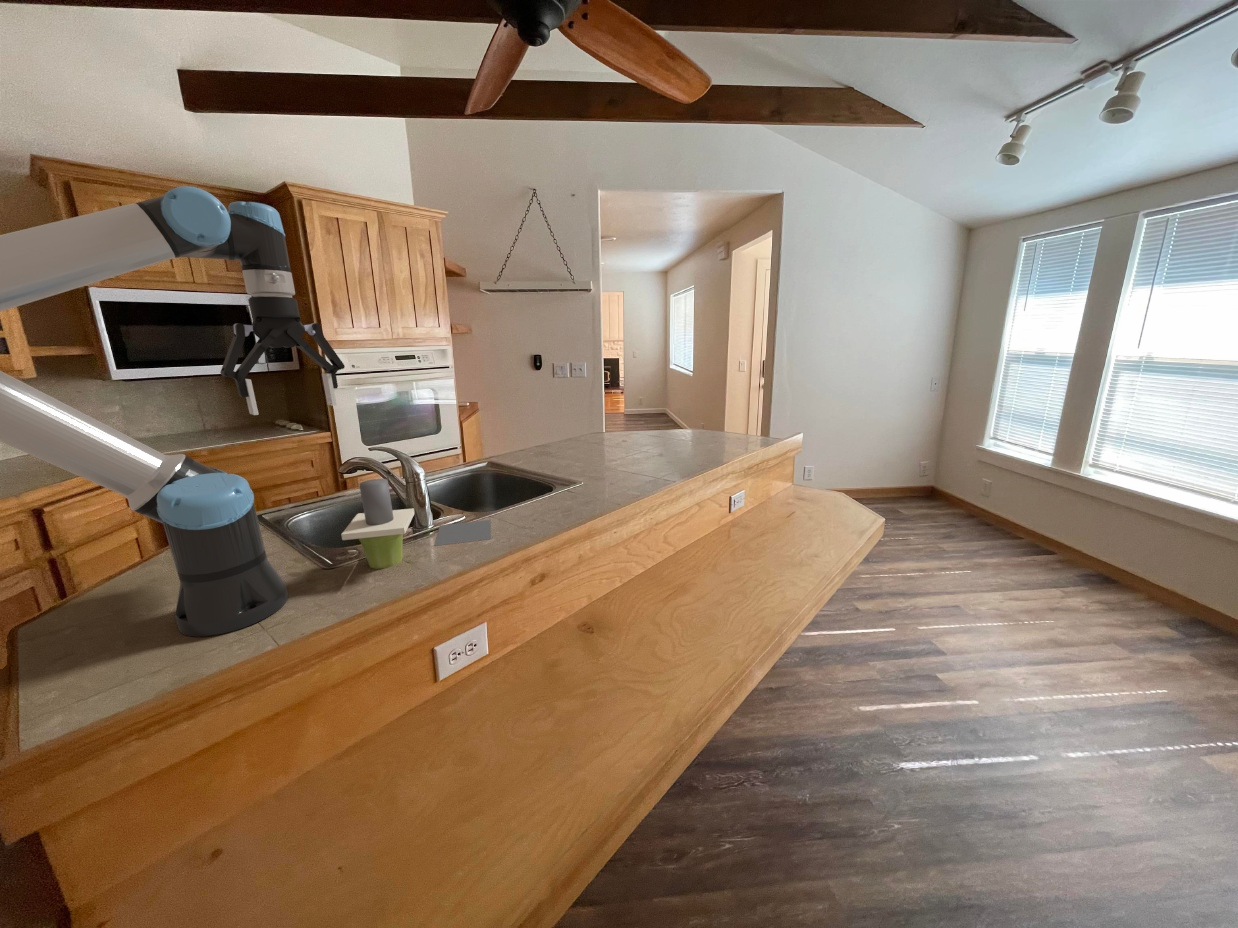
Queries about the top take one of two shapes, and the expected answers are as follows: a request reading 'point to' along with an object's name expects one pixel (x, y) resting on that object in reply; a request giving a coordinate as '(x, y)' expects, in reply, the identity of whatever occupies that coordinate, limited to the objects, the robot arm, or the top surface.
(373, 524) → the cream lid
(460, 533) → the charcoal mat
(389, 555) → the plant pot
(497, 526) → the top surface
